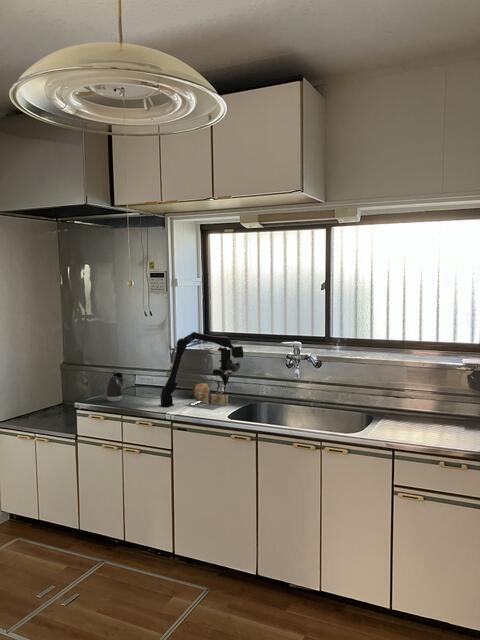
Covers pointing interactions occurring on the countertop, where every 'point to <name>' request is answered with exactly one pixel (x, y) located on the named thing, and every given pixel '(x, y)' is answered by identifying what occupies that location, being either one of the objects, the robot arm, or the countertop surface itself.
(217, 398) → the fence gate
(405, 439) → the countertop surface
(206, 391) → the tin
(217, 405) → the card
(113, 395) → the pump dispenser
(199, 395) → the fence fixed
